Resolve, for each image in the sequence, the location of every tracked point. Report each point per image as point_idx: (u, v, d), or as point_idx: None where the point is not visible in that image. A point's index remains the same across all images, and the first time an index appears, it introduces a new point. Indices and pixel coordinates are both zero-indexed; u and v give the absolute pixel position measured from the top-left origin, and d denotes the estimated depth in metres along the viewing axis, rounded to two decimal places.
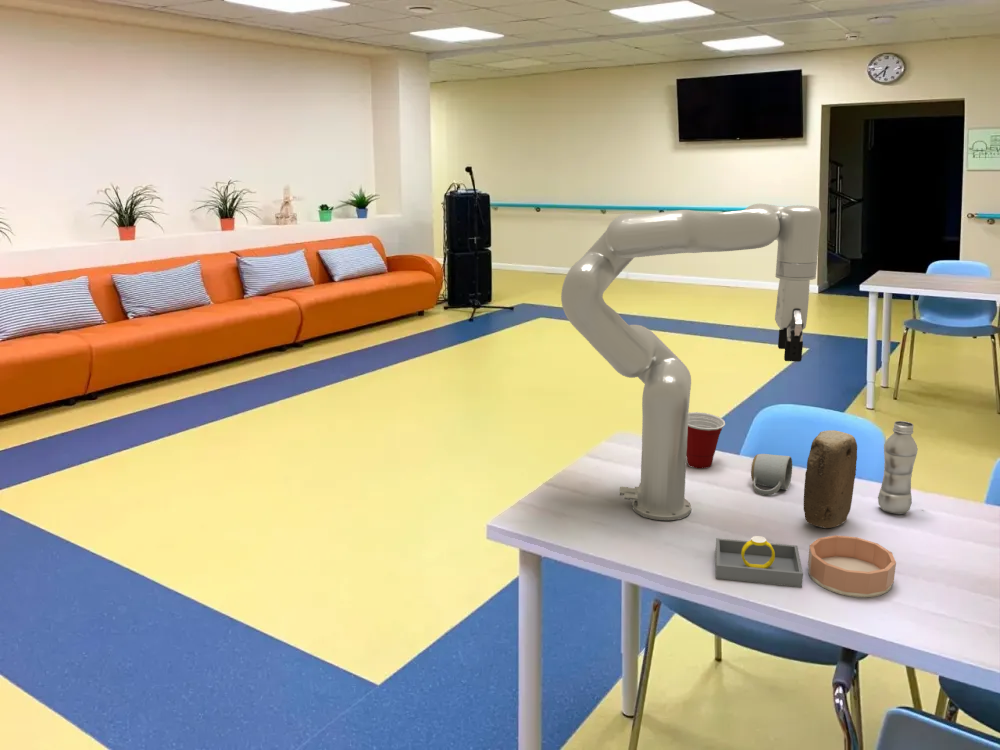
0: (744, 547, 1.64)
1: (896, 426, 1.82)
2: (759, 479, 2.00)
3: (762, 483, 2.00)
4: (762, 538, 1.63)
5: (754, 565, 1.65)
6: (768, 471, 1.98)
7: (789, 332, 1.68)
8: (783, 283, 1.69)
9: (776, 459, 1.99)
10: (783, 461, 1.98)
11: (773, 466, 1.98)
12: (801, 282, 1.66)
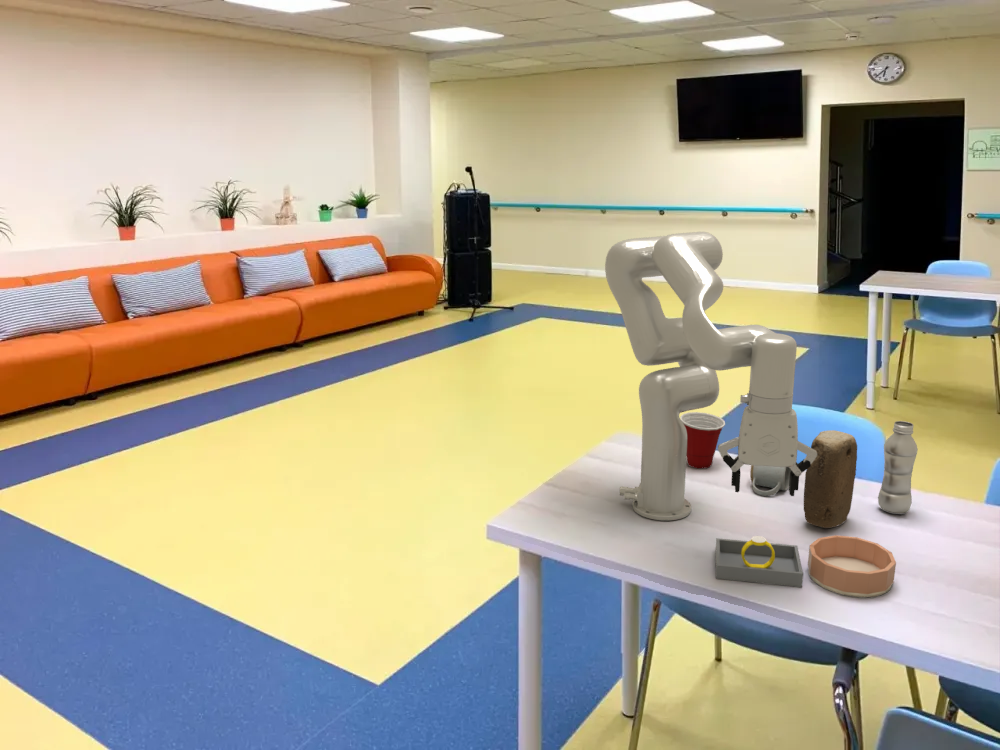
0: (744, 547, 1.64)
1: (896, 426, 1.82)
2: (758, 479, 1.99)
3: (761, 484, 2.00)
4: (762, 538, 1.63)
5: (754, 565, 1.65)
6: (767, 471, 1.98)
7: (797, 466, 1.57)
8: (786, 419, 1.53)
9: None
10: None
11: (772, 467, 1.97)
12: (794, 412, 1.56)
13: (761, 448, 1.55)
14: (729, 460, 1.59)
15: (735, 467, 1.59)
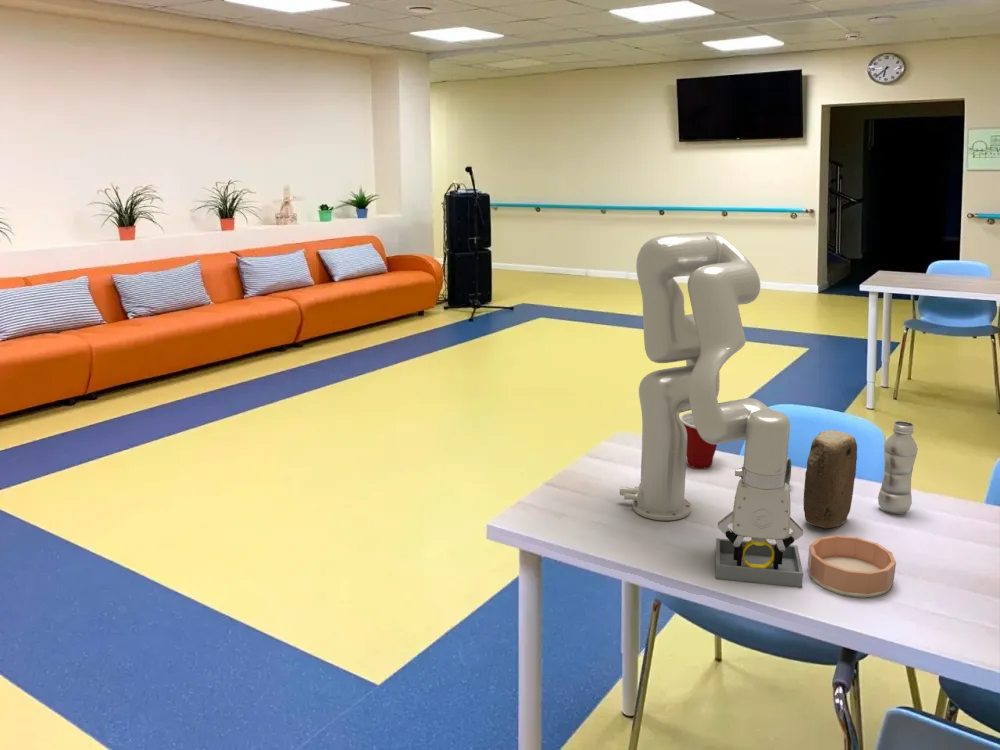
0: (744, 547, 1.64)
1: (896, 426, 1.82)
2: None
3: None
4: None
5: (754, 565, 1.65)
6: None
7: (783, 542, 1.61)
8: (779, 494, 1.57)
9: None
10: None
11: None
12: (787, 486, 1.60)
13: (755, 521, 1.60)
14: (731, 536, 1.63)
15: (737, 543, 1.63)
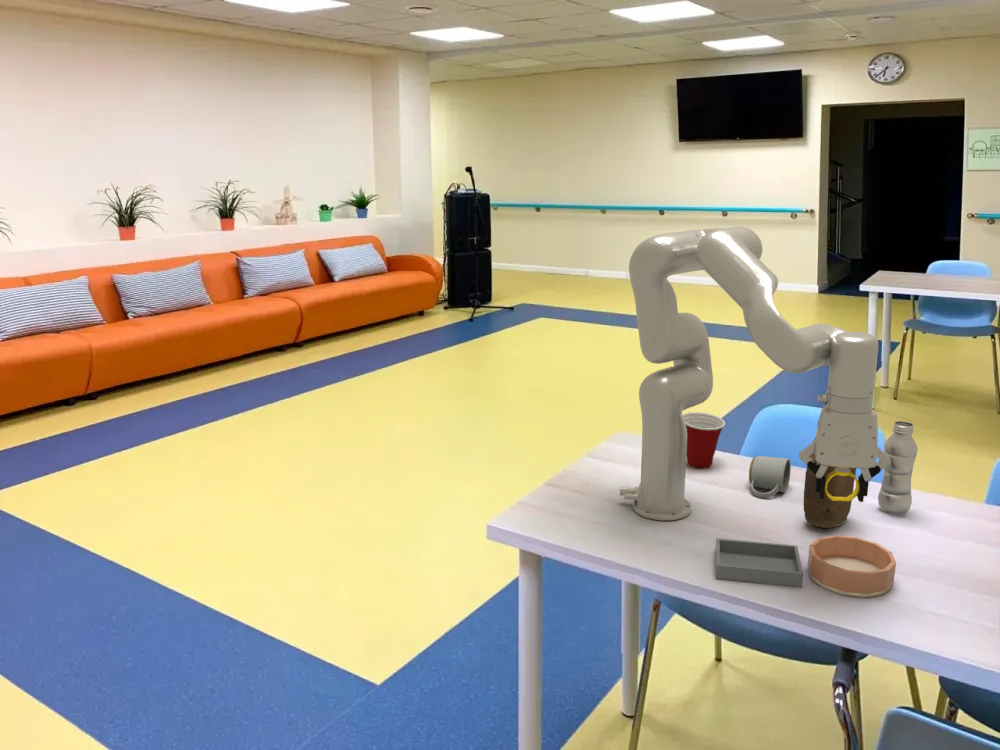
0: (827, 478, 1.57)
1: (896, 426, 1.82)
2: (757, 481, 1.98)
3: (760, 486, 1.99)
4: (846, 469, 1.56)
5: (837, 497, 1.57)
6: (766, 473, 1.97)
7: (869, 471, 1.54)
8: (866, 420, 1.50)
9: (774, 461, 1.97)
10: (781, 463, 1.96)
11: (771, 469, 1.96)
12: (874, 412, 1.52)
13: (840, 449, 1.52)
14: (814, 466, 1.56)
15: (820, 473, 1.56)
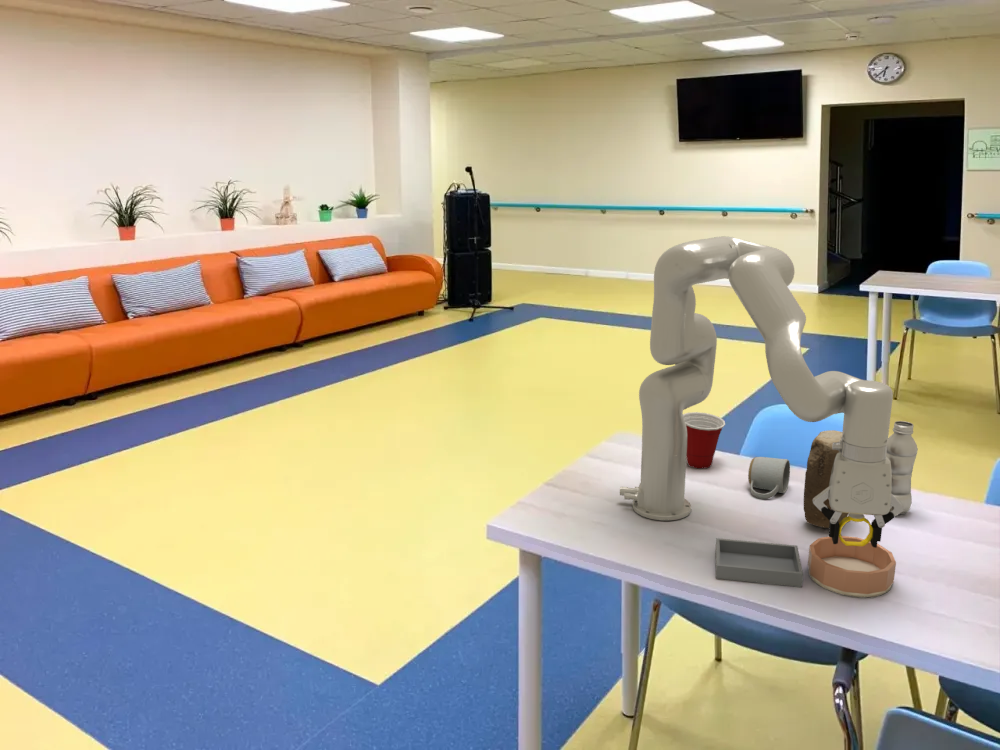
0: (841, 524, 1.58)
1: (896, 426, 1.82)
2: (756, 482, 1.98)
3: (759, 486, 1.99)
4: (860, 514, 1.58)
5: (851, 542, 1.59)
6: (765, 474, 1.96)
7: (882, 517, 1.56)
8: (881, 468, 1.52)
9: (773, 462, 1.97)
10: (780, 464, 1.96)
11: (770, 469, 1.96)
12: None
13: (854, 496, 1.54)
14: (828, 512, 1.58)
15: (834, 519, 1.58)
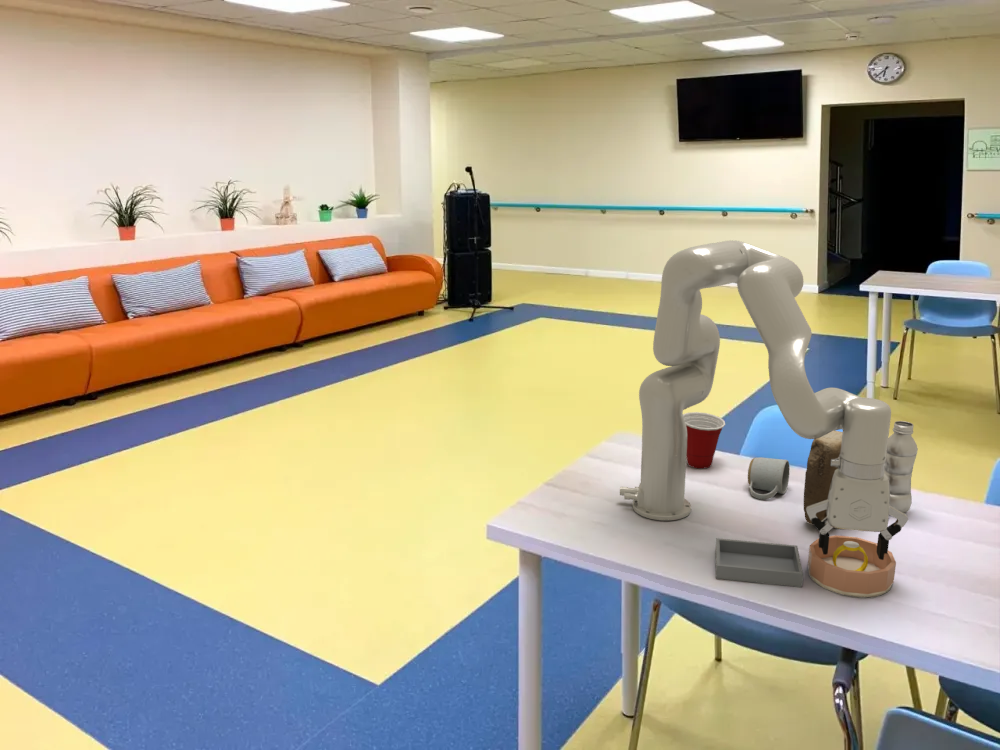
0: (836, 552, 1.60)
1: (896, 426, 1.82)
2: (755, 483, 1.98)
3: (759, 487, 1.98)
4: (855, 543, 1.60)
5: None
6: (764, 474, 1.96)
7: (887, 530, 1.56)
8: (879, 485, 1.53)
9: (773, 463, 1.97)
10: (780, 464, 1.95)
11: (770, 470, 1.96)
12: None
13: (852, 512, 1.55)
14: (818, 523, 1.59)
15: (824, 530, 1.59)
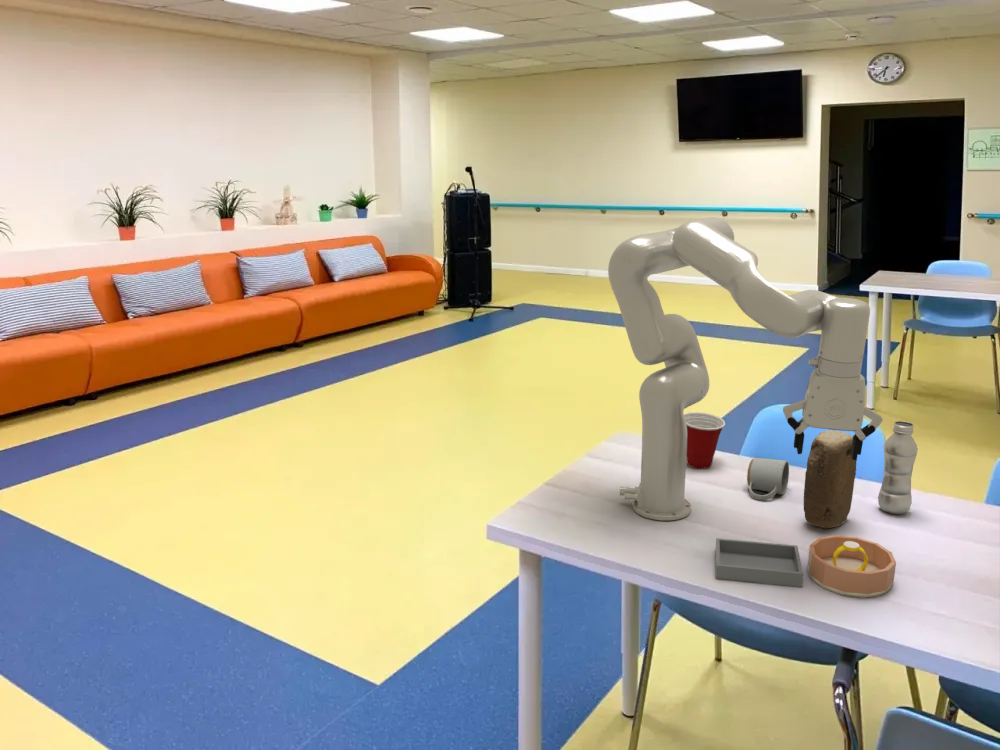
0: (836, 552, 1.60)
1: (896, 426, 1.82)
2: (755, 483, 1.97)
3: (758, 488, 1.98)
4: (855, 543, 1.60)
5: None
6: (764, 475, 1.96)
7: (861, 430, 1.58)
8: (855, 384, 1.55)
9: (772, 464, 1.96)
10: (779, 465, 1.95)
11: (769, 471, 1.95)
12: (862, 377, 1.57)
13: (827, 411, 1.57)
14: (793, 422, 1.61)
15: (799, 429, 1.61)
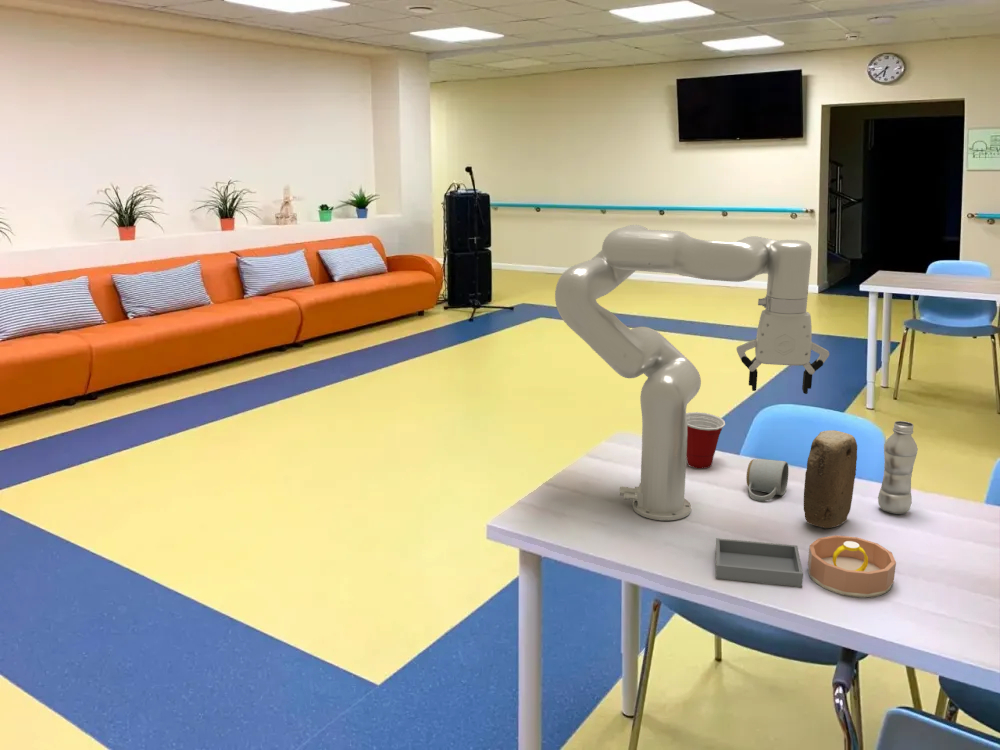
0: (836, 552, 1.60)
1: (896, 426, 1.82)
2: (754, 484, 1.97)
3: (758, 489, 1.97)
4: (855, 543, 1.60)
5: None
6: (763, 476, 1.95)
7: (810, 364, 1.68)
8: (801, 320, 1.65)
9: (772, 464, 1.96)
10: (779, 466, 1.95)
11: (769, 471, 1.95)
12: (808, 314, 1.67)
13: (777, 347, 1.67)
14: (747, 361, 1.71)
15: (752, 367, 1.70)
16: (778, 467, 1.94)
